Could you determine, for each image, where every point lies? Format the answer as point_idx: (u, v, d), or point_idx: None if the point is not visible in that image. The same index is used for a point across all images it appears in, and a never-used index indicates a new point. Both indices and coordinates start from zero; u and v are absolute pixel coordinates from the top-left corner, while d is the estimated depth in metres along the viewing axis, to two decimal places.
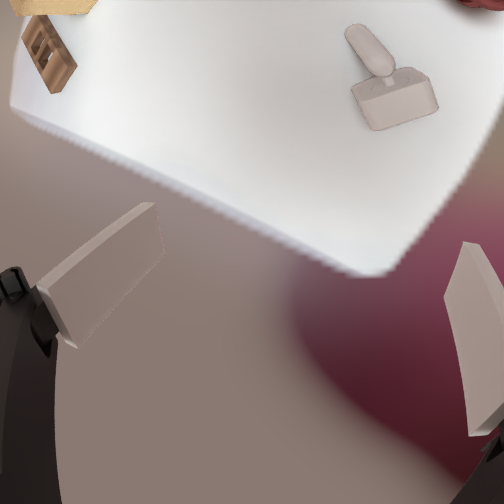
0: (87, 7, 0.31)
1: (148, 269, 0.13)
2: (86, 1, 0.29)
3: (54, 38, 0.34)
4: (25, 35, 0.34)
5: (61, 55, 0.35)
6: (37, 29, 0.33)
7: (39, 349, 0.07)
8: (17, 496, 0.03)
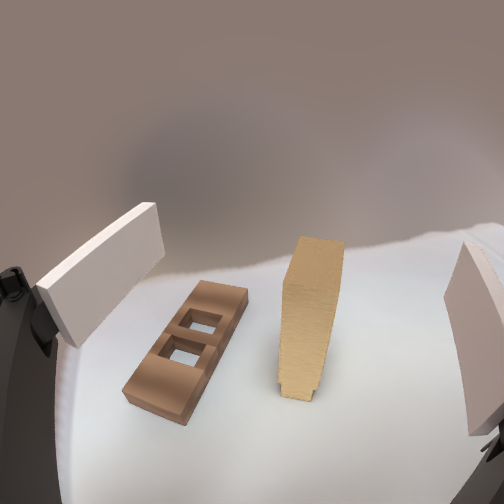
0: (295, 393, 0.28)
1: (148, 269, 0.13)
2: (309, 389, 0.27)
3: (217, 353, 0.32)
4: (205, 287, 0.41)
5: (195, 389, 0.27)
6: (221, 309, 0.37)
7: (39, 349, 0.07)
8: (16, 496, 0.03)
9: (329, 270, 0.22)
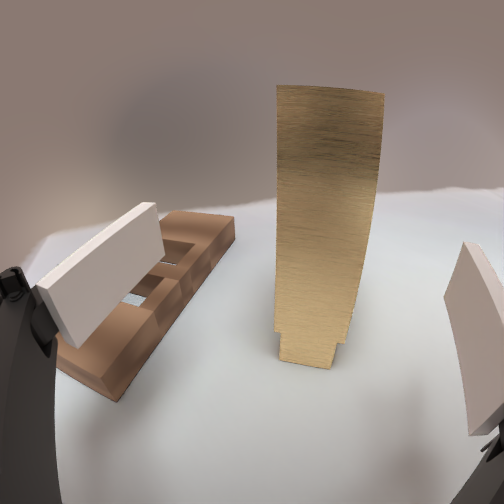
0: (304, 353, 0.17)
1: (148, 269, 0.13)
2: (329, 344, 0.16)
3: (182, 292, 0.21)
4: (177, 217, 0.30)
5: (134, 339, 0.16)
6: (194, 237, 0.26)
7: (39, 349, 0.07)
8: (16, 496, 0.03)
9: None
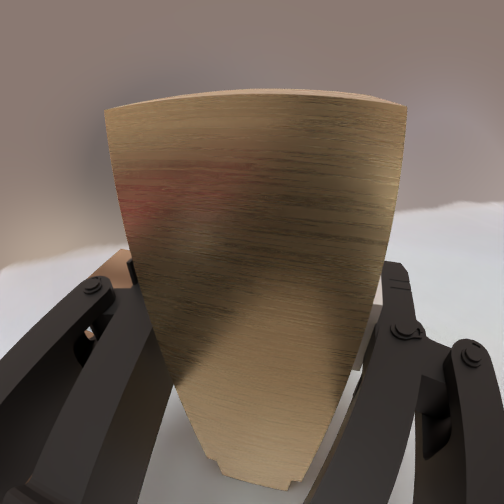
0: (251, 478, 0.10)
1: None
2: (281, 479, 0.09)
3: None
4: (123, 259, 0.23)
5: None
6: None
7: None
8: None
9: (334, 93, 0.05)
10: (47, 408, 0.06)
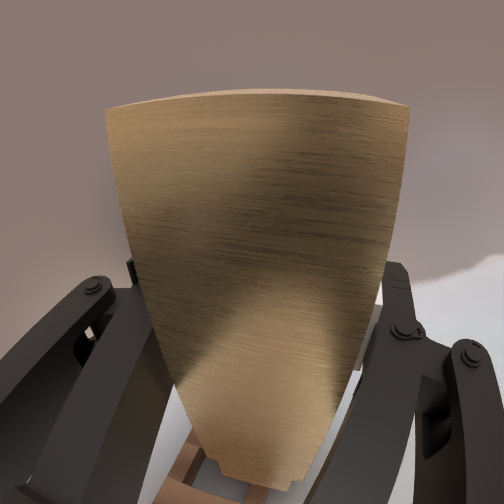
0: (252, 478, 0.10)
1: None
2: (281, 479, 0.09)
3: None
4: None
5: None
6: None
7: None
8: None
9: (335, 93, 0.05)
10: (47, 408, 0.06)
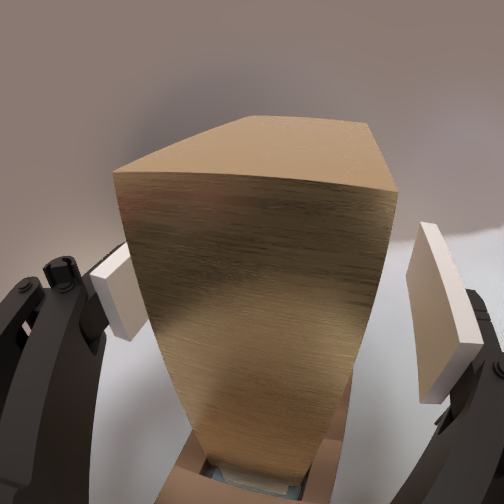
0: (252, 483, 0.11)
1: None
2: (279, 484, 0.10)
3: None
4: None
5: None
6: None
7: (86, 347, 0.07)
8: None
9: (332, 145, 0.05)
10: (3, 397, 0.05)
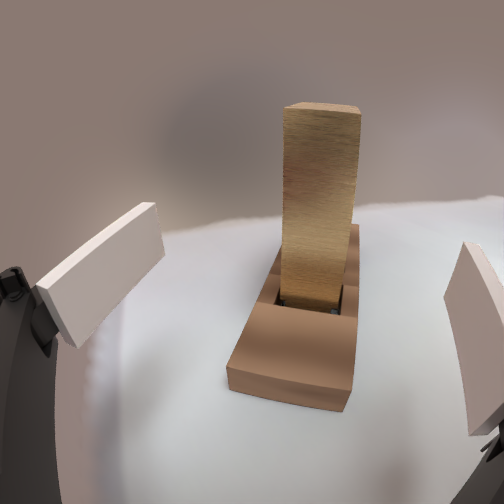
0: None
1: (148, 269, 0.13)
2: (324, 308, 0.20)
3: None
4: None
5: None
6: None
7: (39, 349, 0.07)
8: (17, 496, 0.03)
9: (344, 109, 0.15)
10: None
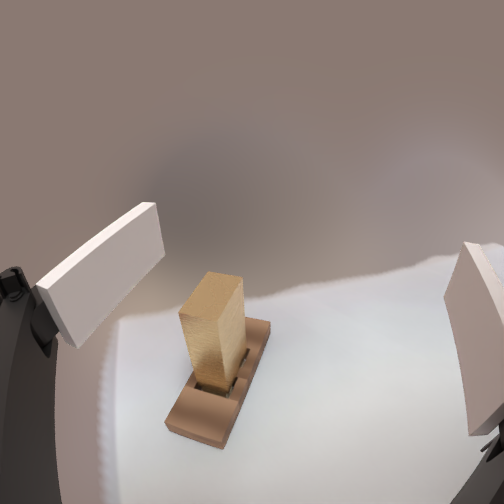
0: None
1: (148, 269, 0.13)
2: (222, 392, 0.33)
3: (247, 384, 0.35)
4: None
5: (231, 418, 0.30)
6: (248, 343, 0.40)
7: (39, 349, 0.07)
8: (16, 496, 0.03)
9: (217, 303, 0.29)
10: None
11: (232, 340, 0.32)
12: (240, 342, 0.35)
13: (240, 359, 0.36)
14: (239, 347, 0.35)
